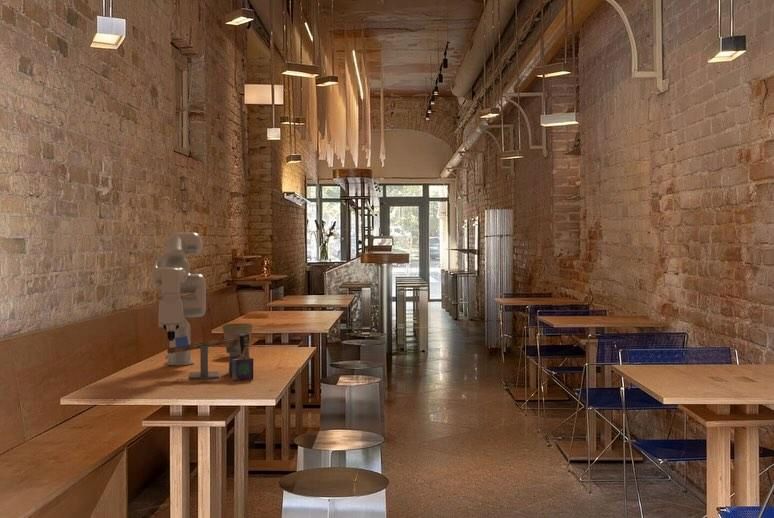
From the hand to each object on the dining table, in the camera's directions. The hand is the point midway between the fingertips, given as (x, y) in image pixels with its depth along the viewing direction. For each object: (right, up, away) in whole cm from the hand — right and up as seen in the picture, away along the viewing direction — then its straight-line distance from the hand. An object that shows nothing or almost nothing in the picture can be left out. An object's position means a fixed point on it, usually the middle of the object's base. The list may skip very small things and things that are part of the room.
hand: (171, 340), depth 355 cm
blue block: (+5, -3, +1) cm, 6 cm away
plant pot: (+16, -15, +68) cm, 71 cm away
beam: (+14, -7, +4) cm, 16 cm away
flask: (+31, -16, -5) cm, 35 cm away
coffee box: (+25, -16, +21) cm, 36 cm away
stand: (+17, -16, +5) cm, 23 cm away
